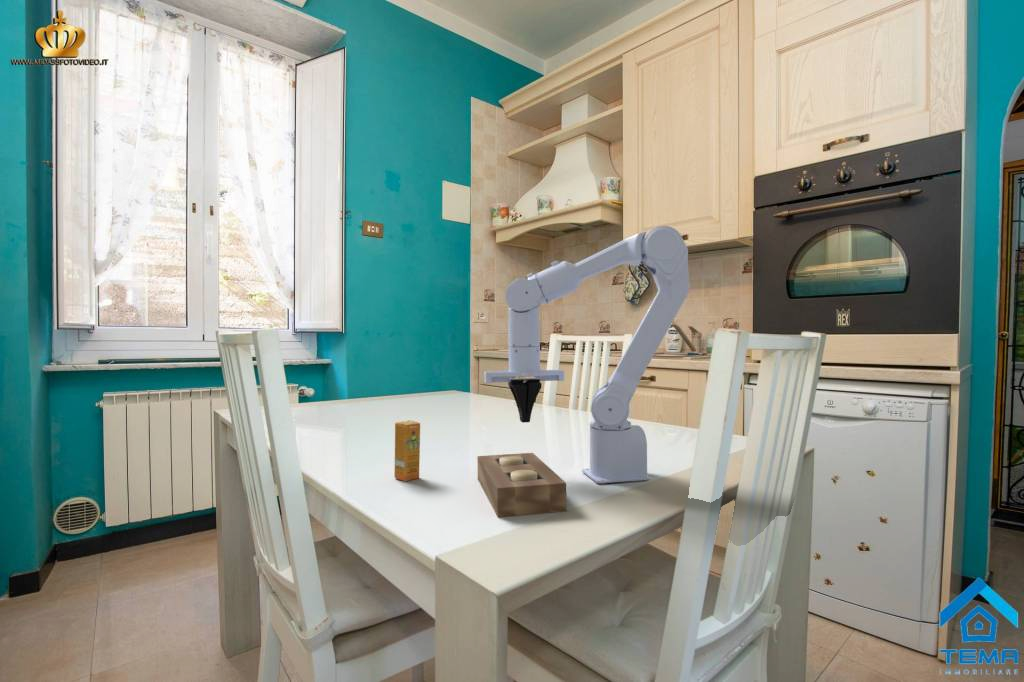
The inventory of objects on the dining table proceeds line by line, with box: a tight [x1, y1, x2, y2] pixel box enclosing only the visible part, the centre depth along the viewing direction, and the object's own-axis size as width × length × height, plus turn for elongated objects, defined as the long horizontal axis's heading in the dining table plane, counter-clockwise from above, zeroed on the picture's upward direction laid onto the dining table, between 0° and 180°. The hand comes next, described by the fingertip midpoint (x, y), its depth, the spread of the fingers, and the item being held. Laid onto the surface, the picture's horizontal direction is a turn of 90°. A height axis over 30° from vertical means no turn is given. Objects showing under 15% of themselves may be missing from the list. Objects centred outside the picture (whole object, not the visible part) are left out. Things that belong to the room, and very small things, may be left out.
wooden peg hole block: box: [477, 452, 568, 518], centre depth 80 cm, size 10×19×4 cm, turn 12°
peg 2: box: [511, 470, 537, 481], centre depth 75 cm, size 4×4×4 cm
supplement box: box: [394, 420, 421, 482], centre depth 89 cm, size 3×3×10 cm
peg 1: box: [499, 456, 523, 465], centre depth 84 cm, size 4×4×4 cm
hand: (524, 421), depth 91 cm, fingers closed
